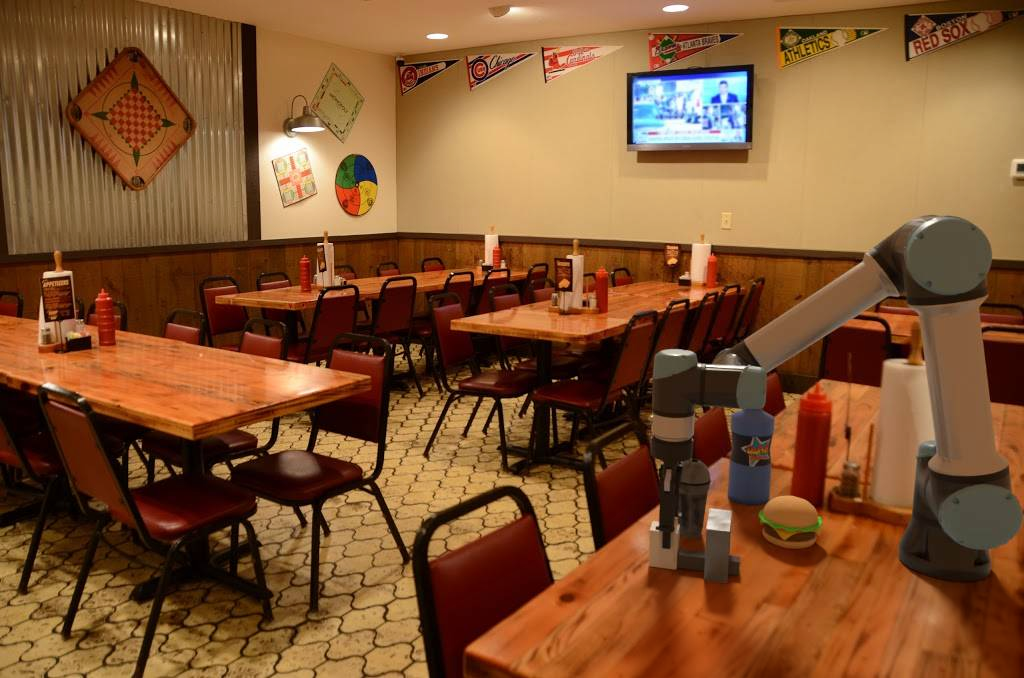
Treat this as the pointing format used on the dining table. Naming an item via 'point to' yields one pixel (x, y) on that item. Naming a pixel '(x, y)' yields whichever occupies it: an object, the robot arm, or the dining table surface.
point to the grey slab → (717, 545)
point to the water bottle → (750, 457)
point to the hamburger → (790, 522)
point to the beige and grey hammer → (683, 554)
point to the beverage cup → (693, 497)
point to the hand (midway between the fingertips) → (667, 556)
